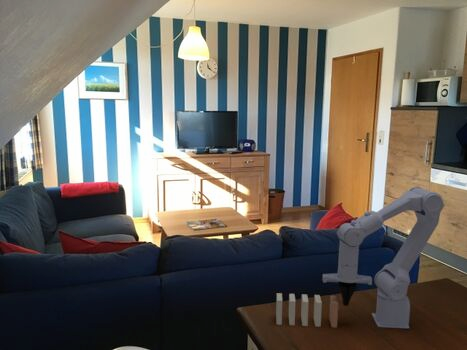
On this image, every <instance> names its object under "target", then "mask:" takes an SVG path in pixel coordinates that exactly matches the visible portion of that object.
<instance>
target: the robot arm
mask: <svg viewBox="0 0 467 350" xmlns="http://www.w3.org/2000/svg"><path fill="white" fill-rule="evenodd" d="M444 208H445V203H444V200H443V197H442V195H440V193H438V192H433V191H431V190H427V189H424V188H423V187H421V186H413V187H411V188H410V189H409V190H406V191H404V192H403V193H402V195H401V196H399V197H398V198H396V199H394V200H393V201H392V202H390V203H389V204H386V205H385V206H384V207H382V208H381V209H379V210H378V211H375V210H370V211H368V210H366V211H365V212H364V214H363V215H361V216H360V217H358V218H356V219H352V220H351V221H350V222H346V223H345V222H344V223H343V224H341V225H340V226H339V228H338V229H337V231H336V235H337V237H338V239H339V245H338V247H339V248H338V261H337V262H338V266H337V272H336V273H323V274H322V282H323V283H324V284H325V283H327V282H328V283H337V284H338V288H339V290H340V295H341V298H342V299H341V300H342V305H343V306H344V307H348V306H349V304H350V302H351V301H350V300H351V299H352V297H353V295H354V293H355V292H356V291H357V288H358V286H357V284H367V285H370V286H372V285H373V278H372V276H369V275H361V274H358V265H359V253H360V252H359V251H360V249H359V248H360V245H361V244H362V243H363V241H364V239H366V238H367V236H369V235H371V234H373V233H374V232H377V231H378V230H380V229H381V228H383V225H384V222H385V221H388V220H390V219H392V218H393V217H396V216H398V215H400V214H402V213H405V211H414V213H415V217H416V220H417V221H416V223H415V224H414V225H413V226H412V229H411V230H410V232H409V234H408V235H407V237H406V238H405V240H404V242H403V243H402V245H401V246H400V249H399V250H398V252H397V254H396V255H395V256H394V258H393V260H392V261H391V262H390V263H386V264H385V265H384V266H383V268H382V269H380V270H379V271H378V272H377V273H376V274H375V276H374V284H375V285H376V287H377V292H376V294H377V295H376V296H377V297H376V310H375V312H372V313H371V315H372V318H373V320H374V322H375V324H376V325H377V328H388V329H389V328H391V329H410V326H409V325H410V316H411V315H410V313H411V304H410V303H411V302H410V299H409V297H408V296H407V294H408V288H409V285H410V283H411V280H410V279H411V278H410V274H409V273H410V271H411V269H412V268H413V266H414V264H416V263H415V262H416V261H417V259H418V258H419V256H420V255H421V253H422V252H423V250H424V248H425V246H426V245H427V244H428V242H429V240H430V239H431V237H432V235H433V234H434V231H435V230H436V228H437V227H438V225H439V221H440V216H441V213H442V212H443V211H442V210H443V209H444Z"/></svg>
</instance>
